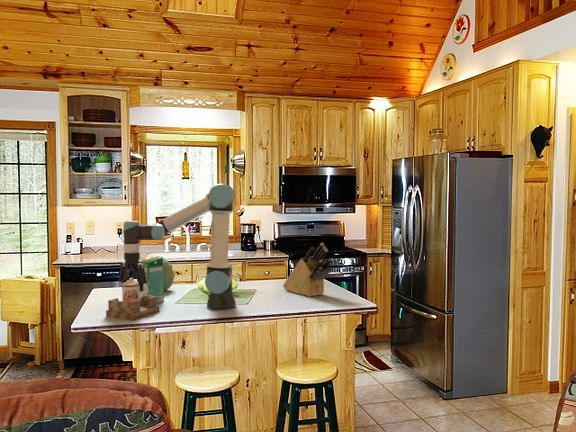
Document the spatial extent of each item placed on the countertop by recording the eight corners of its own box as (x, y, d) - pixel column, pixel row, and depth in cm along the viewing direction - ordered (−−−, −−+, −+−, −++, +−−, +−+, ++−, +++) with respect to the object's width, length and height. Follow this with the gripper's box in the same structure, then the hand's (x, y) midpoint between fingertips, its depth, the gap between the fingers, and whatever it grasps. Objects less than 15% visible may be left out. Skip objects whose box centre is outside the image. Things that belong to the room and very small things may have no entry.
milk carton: (140, 301, 279) (139, 257, 277) (155, 299, 285) (154, 255, 284) (149, 304, 272) (148, 258, 271) (163, 301, 279) (162, 256, 277)
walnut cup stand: (159, 311, 255) (159, 296, 255) (132, 320, 238) (131, 303, 238) (134, 308, 263) (133, 293, 262) (106, 316, 246) (105, 300, 246)
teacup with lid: (121, 303, 244) (120, 280, 243) (122, 299, 253) (122, 276, 252) (146, 302, 247) (146, 279, 246) (147, 298, 256) (147, 275, 255)
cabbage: (149, 295, 296) (149, 261, 295) (147, 289, 314) (146, 257, 313) (176, 293, 301) (176, 260, 300) (173, 287, 319) (172, 256, 318)
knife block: (319, 300, 279) (319, 244, 278) (282, 290, 307) (282, 240, 306) (334, 297, 286) (334, 243, 284) (297, 288, 314) (296, 238, 312)
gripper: (154, 252, 247) (154, 297, 249) (121, 250, 257) (122, 293, 258) (143, 254, 241) (144, 300, 242) (110, 251, 250) (111, 296, 252)
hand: (132, 296), depth 250 cm, fingers closed on teacup with lid, 9 cm apart
